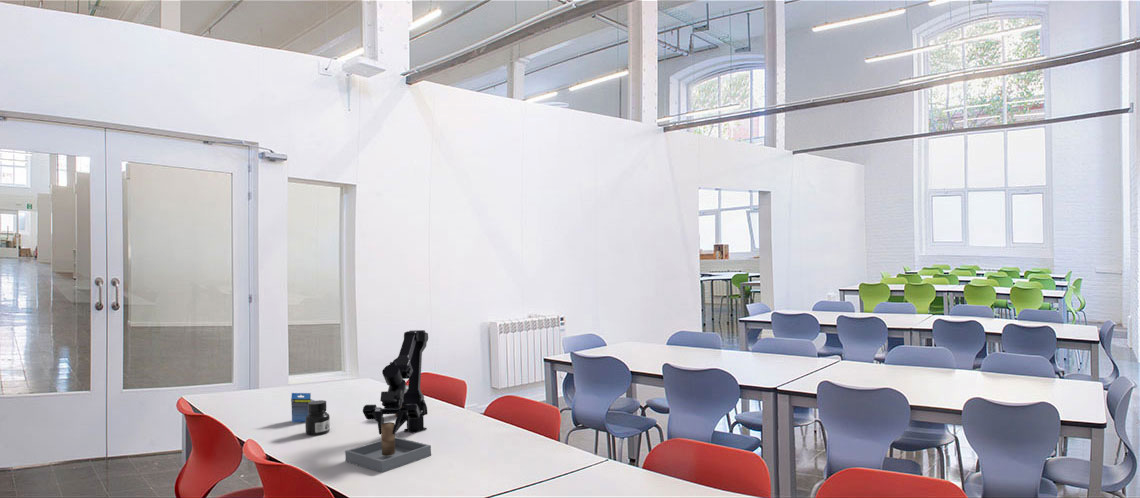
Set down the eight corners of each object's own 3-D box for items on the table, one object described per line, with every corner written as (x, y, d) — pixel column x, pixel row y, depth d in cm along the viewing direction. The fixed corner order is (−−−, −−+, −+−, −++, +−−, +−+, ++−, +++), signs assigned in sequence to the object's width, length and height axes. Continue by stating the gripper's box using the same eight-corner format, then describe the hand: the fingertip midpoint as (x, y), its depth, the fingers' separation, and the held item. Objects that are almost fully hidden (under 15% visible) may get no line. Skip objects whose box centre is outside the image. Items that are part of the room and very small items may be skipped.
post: (395, 450, 221) (394, 422, 221) (394, 454, 217) (394, 425, 217) (382, 452, 220) (381, 423, 220) (381, 456, 216) (380, 426, 216)
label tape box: (316, 419, 274) (315, 390, 274) (311, 422, 270) (310, 393, 270) (296, 419, 275) (295, 390, 275) (291, 422, 271) (290, 393, 271)
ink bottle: (320, 436, 248) (320, 405, 248) (300, 435, 250) (299, 404, 250) (334, 429, 257) (334, 399, 257) (315, 428, 259) (314, 399, 259)
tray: (431, 455, 221) (430, 445, 221) (382, 472, 205) (382, 461, 205) (394, 446, 233) (393, 436, 233) (345, 461, 217) (345, 451, 217)
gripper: (363, 381, 223) (352, 422, 212) (417, 380, 223) (409, 421, 212) (371, 399, 231) (361, 438, 220) (423, 398, 230) (416, 437, 219)
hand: (386, 433), depth 217 cm, fingers closed on post, 4 cm apart
